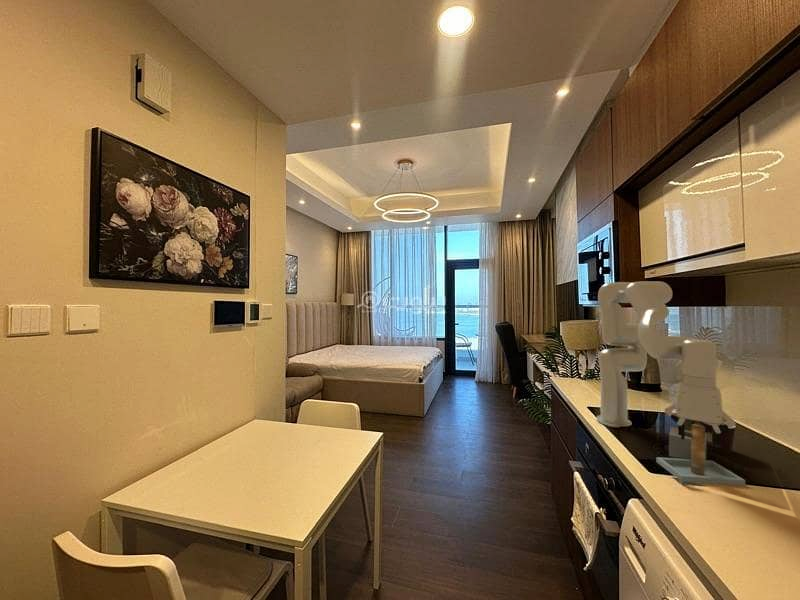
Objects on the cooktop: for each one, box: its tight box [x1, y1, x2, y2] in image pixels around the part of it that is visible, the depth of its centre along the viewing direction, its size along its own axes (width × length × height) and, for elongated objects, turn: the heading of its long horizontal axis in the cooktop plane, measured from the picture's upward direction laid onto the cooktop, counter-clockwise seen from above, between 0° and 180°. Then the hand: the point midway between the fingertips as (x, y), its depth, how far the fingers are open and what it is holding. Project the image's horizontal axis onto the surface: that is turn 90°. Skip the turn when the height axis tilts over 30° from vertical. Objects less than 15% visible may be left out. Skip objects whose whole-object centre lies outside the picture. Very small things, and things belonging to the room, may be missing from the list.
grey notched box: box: [668, 426, 707, 460], centre depth 107 cm, size 9×9×8 cm
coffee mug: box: [691, 420, 736, 455], centre depth 113 cm, size 12×9×10 cm
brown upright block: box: [690, 423, 705, 476], centre depth 96 cm, size 3×3×14 cm
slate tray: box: [655, 456, 746, 488], centre depth 96 cm, size 11×16×2 cm
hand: (698, 440), depth 96 cm, fingers open, 6 cm apart
